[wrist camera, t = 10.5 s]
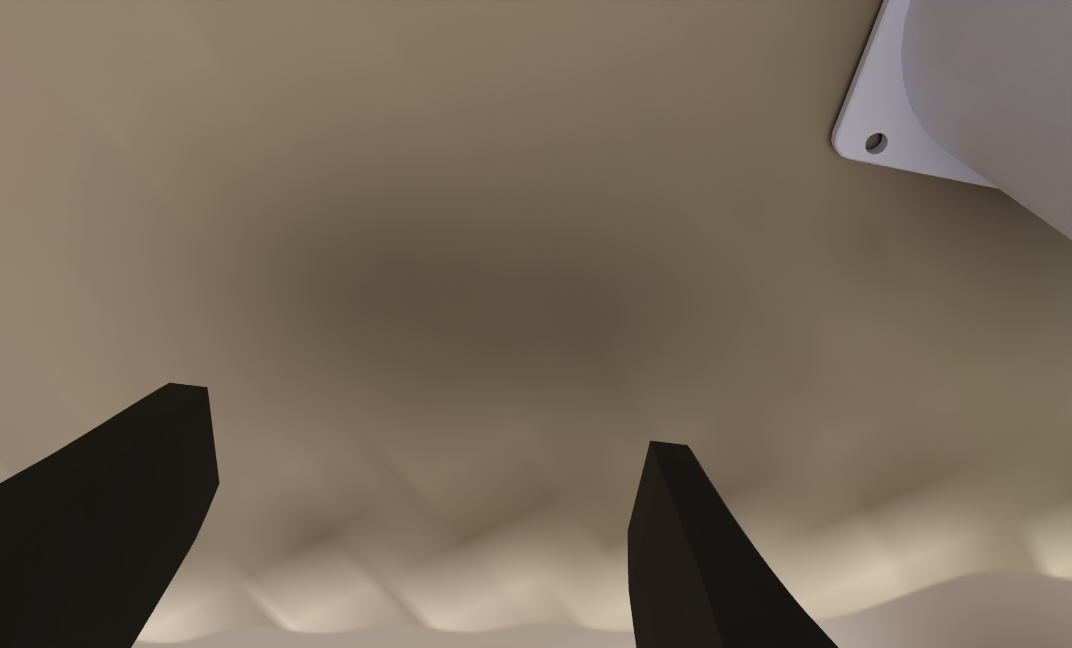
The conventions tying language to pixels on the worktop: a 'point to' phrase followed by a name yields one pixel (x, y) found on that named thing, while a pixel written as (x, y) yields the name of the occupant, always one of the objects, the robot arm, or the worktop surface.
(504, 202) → the worktop surface
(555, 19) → the worktop surface
